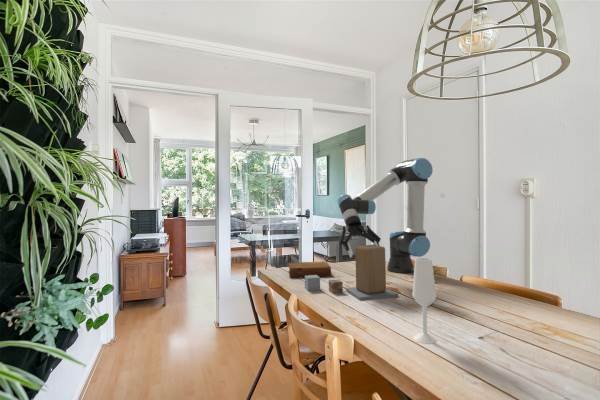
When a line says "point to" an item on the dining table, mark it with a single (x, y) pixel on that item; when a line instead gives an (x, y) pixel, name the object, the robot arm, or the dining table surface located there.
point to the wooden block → (370, 269)
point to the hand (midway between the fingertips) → (365, 254)
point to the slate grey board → (365, 296)
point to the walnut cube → (335, 286)
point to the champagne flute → (424, 293)
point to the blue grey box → (312, 282)
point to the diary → (309, 269)
